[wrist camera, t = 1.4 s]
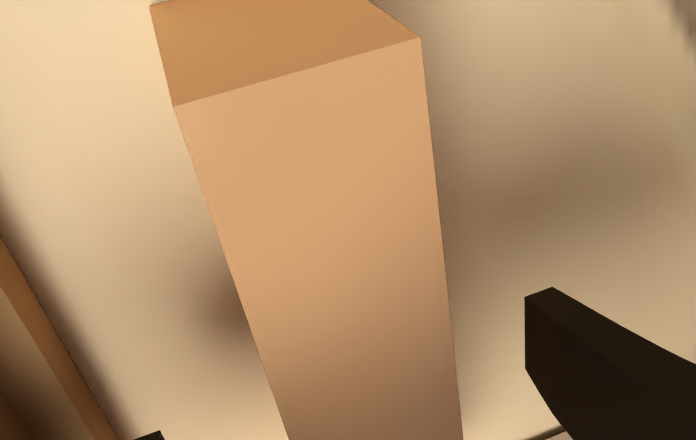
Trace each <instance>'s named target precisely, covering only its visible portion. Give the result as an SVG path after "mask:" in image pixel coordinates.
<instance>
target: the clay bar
mask: <svg viewBox="0 0 696 440" xmlns="http://www.w3.org/2000/svg"><path fill="white" fill-rule="evenodd" d="M149 9H150V13H151V17H152V21H153V26H154V30H155V34H156V38H157V42H158V46H159V51H160V55H161V59H162V63H163V67H164V71H165V76H166V80H167V84H168V88H169V92H170V96H171V101H172V105H173V108H174V111H175V114H176V117H177V120H178V123H179V125H180V128H181V131H182V134H183V137H184V140H185V143H186V146H187V148H188V151H189V154H190V157H191V160H192V163H193V166H194V168H195V171H196V174H197V177H198V180H199V183H200V186H201V189H202V191H203V194H204V197H205V200H206V203H207V206H208V209H209V211H210V214H211V217H212V220H213V223H214V226H215V229H216V232H217V234H218V237H219V240H220V243H221V246H222V249H223V252H224V254H225V257H226V260H227V263H228V266H229V269H230V272H231V275H232V277H233V280H234V283H235V286H236V289H237V292H238V295H239V298H240V300H241V303H242V306H243V309H244V312H245V315H246V318H247V320H248V323H249V326H250V329H251V332H252V335H253V338H254V341H255V343H256V346H257V349H258V352H259V355H260V358H261V361H262V363H263V366H264V369H265V372H266V375H267V378H268V381H269V384H270V386H271V389H272V392H273V395H274V398H275V401H276V404H277V406H278V409H279V412H280V415H281V418H282V421H283V424H284V427H285V429H286V432H287V435H288V438H289V440H463V431H462V422H461V413H460V403H459V394H458V385H457V375H456V366H455V356H454V347H453V338H452V328H451V319H450V310H449V300H448V291H447V282H446V272H445V263H444V253H443V244H442V235H441V225H440V216H439V207H438V197H437V188H436V178H435V169H434V160H433V150H432V141H431V132H430V122H429V113H428V104H427V94H426V85H425V75H424V66H423V57H422V47H421V38H420V36H418V35H417V34H415V33H414V32H412V31H411V30H409V29H408V28H407V27H405V26H404V25H402V24H401V23H399V22H398V21H396V20H395V19H394V18H392V17H391V16H389V15H388V14H386V13H385V12H384V11H382V10H381V9H379V8H378V7H376V6H375V5H373V4H372V3H371V2H369V1H368V0H171V1H167V2H163V3H159V4H155V5H151V6H149Z"/></svg>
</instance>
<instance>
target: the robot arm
mask: <svg viewBox="0 0 696 440" xmlns="http://www.w3.org/2000/svg"><path fill="white" fill-rule="evenodd" d="M525 369H526V371H527V372H528V374H529V376H530V378H531V379H532V381H533V383H534V384H535V386H536V388H537V389H538V391H539V393H540V394H541V396H542V398H543V399H544V401H545V402H546V404H547V406H548V407H549V409H550V410H551V412H552V413H553V415H554V416H555V417H556V419H557V420H558V421H559V423H560V424H561V425H562V426H563V428H564V429H565V430H566V431H565V432H563V433H560V434H558V435H555V436H553V437H550V438H548V439H546V440H696V364H694V363H692V362H690V361H687V360H685V359H683V358H681V357H679V356H677V355H675V354H673V353H671V352H669V351H667V350H665V349H663V348H662V347H660V346H658V345H656V344H654V343H652V342H650V341H648V340H646V339H645V338H643V337H641V336H639V335H637V334H635V333H633V332H631V331H630V330H628V329H626V328H624V327H622V326H620V325H619V324H617V323H615V322H613V321H612V320H610V319H608V318H606V317H604V316H603V315H601V314H599V313H597V312H596V311H594V310H592V309H590V308H589V307H587V306H585V305H583V304H582V303H580V302H578V301H576V300H575V299H573V298H571V297H569V296H568V295H566V294H564V293H562V292H561V291H559V290H557V289H555V288H553V287H551V288H548V289H545V290H542V291H540V292H537V293H534V294H531V295H529V296H526V297H525ZM134 440H165V439H164V437H163V435H162V434H161V432H160V430H159V431H156V432H154V433H151V434H148V435H145V436H143V437H140V438H137V439H134Z"/></svg>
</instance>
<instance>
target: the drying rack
mask: <svg viewBox="0 0 696 440" xmlns="http://www.w3.org/2000/svg"><path fill="white" fill-rule="evenodd" d="M0 440H119V439H118V437H117V436H116V434H115V432H114V431H113V429H112V427H111V425H110V424H109V422H108V420H107V419H106V417H105V415H104V413H103V412H102V410H101V408H100V407H99V405H98V403H97V401H96V400H95V398H94V396H93V395H92V393H91V391H90V389H89V388H88V386H87V384H86V382H85V381H84V379H83V377H82V376H81V374H80V372H79V370H78V369H77V367H76V365H75V364H74V362H73V360H72V358H71V357H70V355H69V353H68V352H67V350H66V348H65V346H64V345H63V343H62V341H61V340H60V338H59V336H58V334H57V333H56V331H55V329H54V327H53V326H52V324H51V322H50V321H49V319H48V317H47V315H46V314H45V312H44V310H43V309H42V307H41V305H40V303H39V302H38V300H37V298H36V297H35V295H34V293H33V291H32V290H31V288H30V286H29V285H28V283H27V281H26V279H25V278H24V276H23V274H22V273H21V271H20V269H19V267H18V266H17V264H16V262H15V260H14V259H13V257H12V255H11V254H10V252H9V250H8V248H7V247H6V245H5V243H4V242H3V240H2V238H1V236H0Z"/></svg>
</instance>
